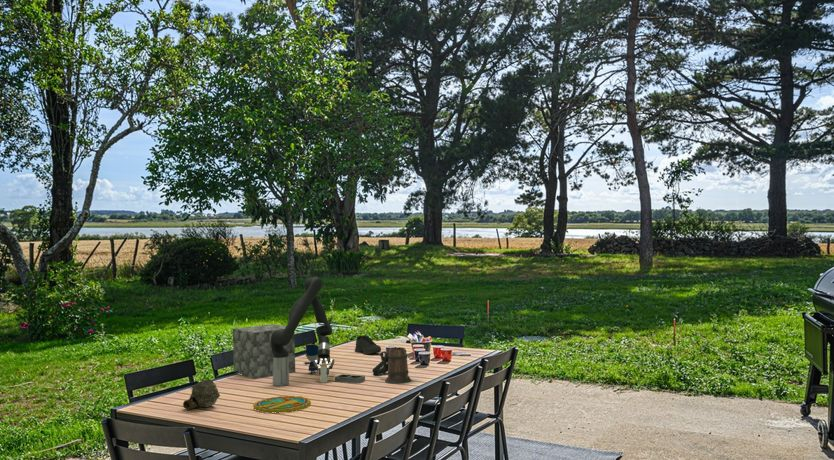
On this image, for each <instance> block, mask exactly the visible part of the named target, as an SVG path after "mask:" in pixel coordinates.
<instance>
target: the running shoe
mask: <svg viewBox="0 0 834 460" xmlns="http://www.w3.org/2000/svg"><path fill="white" fill-rule="evenodd" d="M355 340H356V341H355V348H354V352H355V353H363V354H364V355H373V354H378V353H381V352H382V347H381V346H380V345H377V344H376V342H374V340H372V338H370V336H369V335H365V334H364V335H360V336H359V335H358V336H357V337H356V339H355Z"/></svg>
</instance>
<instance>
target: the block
mask: <svg viewBox="0 0 834 460" xmlns="http://www.w3.org/2000/svg"><path fill="white" fill-rule="evenodd" d="M286 326H287V325H280V324H276V323H275V324H273V323H270V324H262V325H253V326H245V327H237V328H232V355H233V357H232V358H233V360H232V361H233V362H232V363H233V373H234V372H236V371H238V372H237V373H240V374H242V375H244V376H243V377H246V378H249V379H252V380H258V379H263V378H269V377H273V353H272V348H271V336H272V333H273V332H274V331H276V330H281V331H283V330H284V329H285V327H286ZM295 342H296V341H295V333H294V334H293V336H292V338H291V340H290V342H289V344H287V345H286V346H284V348H285V350H287V351H288V360H289V374H292V373H296V351H295V350H296V349H295V347H296V345H295ZM242 375H241V376H242Z"/></svg>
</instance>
